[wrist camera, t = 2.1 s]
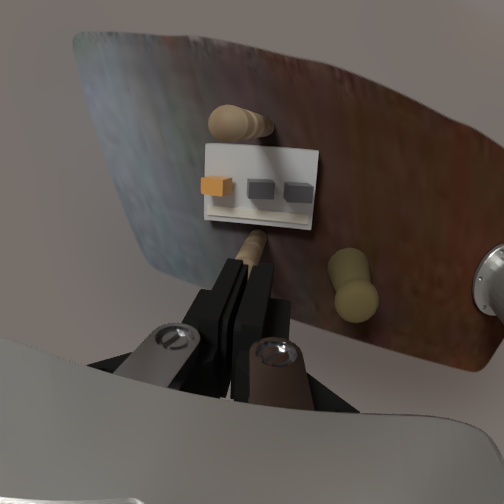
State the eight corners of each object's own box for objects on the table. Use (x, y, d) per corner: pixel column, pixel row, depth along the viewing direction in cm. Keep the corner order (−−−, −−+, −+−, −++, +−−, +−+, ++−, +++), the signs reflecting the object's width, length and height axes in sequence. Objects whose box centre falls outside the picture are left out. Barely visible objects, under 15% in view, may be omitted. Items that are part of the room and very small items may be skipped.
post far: (267, 229, 44) (237, 305, 26) (266, 247, 45) (237, 331, 27) (248, 227, 44) (206, 300, 26) (247, 245, 45) (206, 327, 27)
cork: (353, 294, 45) (363, 339, 35) (318, 274, 45) (320, 316, 35) (377, 261, 43) (395, 300, 33) (342, 239, 43) (352, 274, 33)
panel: (318, 150, 39) (318, 151, 37) (310, 225, 43) (310, 230, 41) (210, 143, 41) (204, 144, 39) (208, 215, 45) (203, 220, 42)
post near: (275, 117, 38) (247, 105, 20) (273, 137, 39) (244, 142, 21) (254, 116, 39) (209, 104, 20) (253, 135, 40) (207, 141, 21)
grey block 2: (308, 183, 39) (313, 186, 36) (306, 198, 39) (312, 203, 37) (284, 181, 38) (288, 185, 36) (283, 197, 39) (287, 202, 37)
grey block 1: (271, 179, 39) (275, 182, 37) (270, 195, 40) (273, 199, 38) (247, 178, 39) (249, 181, 37) (246, 194, 40) (248, 198, 37)
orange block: (232, 177, 39) (222, 180, 37) (231, 193, 40) (222, 196, 38) (211, 175, 40) (201, 177, 38) (211, 190, 41) (200, 193, 39)
